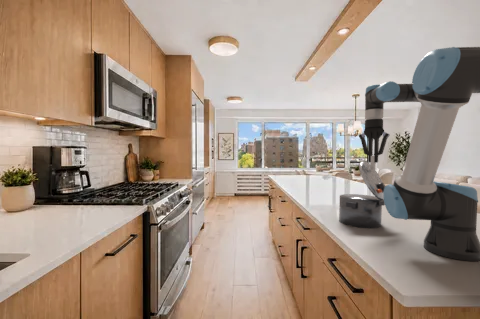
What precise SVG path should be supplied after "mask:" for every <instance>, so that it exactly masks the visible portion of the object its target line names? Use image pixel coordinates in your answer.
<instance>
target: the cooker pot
mask: <svg viewBox="0 0 480 319" xmlns="http://www.w3.org/2000/svg"><path fill="white" fill-rule="evenodd" d="M383 206H385V203H384V200H379V199H378V198H377V197H375V196H374V195H368V194H359V193H358V194H356V193H350V194H349V193H347V194H345V193H344V194H340V195H339V206H338V207H339V211H338V219H339V220H338V221H339V222H340V223H341V224H343V225H347V226H350V227H354V228H361V229H377V228H380V227H382V214H383V213H382V212H383V210H382V208H383Z"/></svg>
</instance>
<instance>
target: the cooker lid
mask: <svg viewBox="0 0 480 319" xmlns="http://www.w3.org/2000/svg"><path fill="white" fill-rule="evenodd" d="M358 169H359V173H360V175H361V178H362V180H363V182H364V184H365V186H366V187H367V188H368V189H369V191H370V192H371V193H372V196H375V197H377V198H378V199H379V200H384V195H383V194H384V188H385V186H386V185H385V184H384V182H383V180H382V178H381V177H380V175H379V173H378V172H377V170H371V163H370V162H369V161H365V160H363V161H361V162H359V163H358Z"/></svg>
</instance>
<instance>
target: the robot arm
mask: <svg viewBox="0 0 480 319" xmlns="http://www.w3.org/2000/svg"><path fill="white" fill-rule="evenodd" d="M411 80H412V81H411V83H397V82H395V81H386V82H384V83H381V84H372V85H368V86H367V87H366V88H365V93H364V98H365V102H364V103H365V104H364V105H365V106H364V108H365V110H364V119H365V120H364V131H363V132H362V133H361V134H358V137H359V139H360V142H361V145H362V150H363V153H364V154H363V155H367V156H368V158H367V160H368V161H367V162H368V163H370V165H371V170H375V171H377V170H376V169H377V168H376V167H377V166H376V164H377V163H378V162H379V156H380V155H383V154H384V150H385V147H386V144H387V140H388V138H389V137H390V134H391V133H387V132H386V131H385V130H384V119H383V118H384V104H385V103H420V108H419V113H418V115H417V119H416V123H415V126H414V129H413V133H412V136H411V141H410V142H409V143H410V144H409V147H408V151H407V155H406V158H405V162H404V165H403V168H402V172H401V174H399V175H396V176H395V178H394V181H393V183H392V184H391V183H389V184H387V185H385V188H384V194H383V195H384V203H385V205H384V206H385V209H386V210H387V213H388V214H389V215H390V216H391V217H392V218H394V219H398V220H405V221H407V220H417V221H430V225H429V228H428V231H427V232H426V234H425V237H424V239H423V248H424V249H426V250H427V251H429V252H431V253H433V254H435V255H438V256H442V257H445V258H450V259H453V260H459V261H465V262H466V261H468V262H479V261H480V240H479V236H478V234H477V220H478V218H477V217H478V203H479V200H478V190H477V189H476V188H474V187H473V186H467V185H462V184H461V185H460V184H455V183H449V182H441V181H434V180H435V177H436V175H437V172H438V169H439V166H440V164H441V160H442V158H443V155H444V153H445V149H446V147H447V144H448V141H449V139H450V135H451V132H452V129H453V128H454V124H455V121H456V118H457V115H458V113H459V110H460V108H461V107H464V106H465V105H468V103H469V102H470V100H471V98H472V94H480V46H461V47H460V46H459V47H458V46H457V47H455V46H452V47H443V48H435V49H434V50H431V51H429V52H428V53H427V54H426V55H424V57H423V58H422V59H421V60H420V61H419V63H418V64H417V65H416V68H415V70H414V72H413V75H412V79H411ZM381 137H382V139H381V143H380V142H379V141H380V138H381ZM366 138H367V141H366ZM367 142H368V144H367ZM373 145H374V146H373ZM379 145H380V147H379Z"/></svg>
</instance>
